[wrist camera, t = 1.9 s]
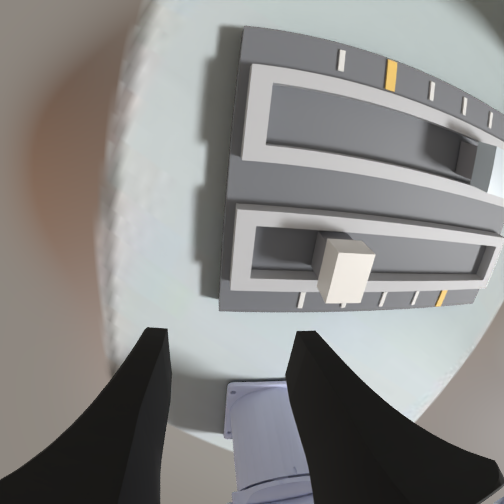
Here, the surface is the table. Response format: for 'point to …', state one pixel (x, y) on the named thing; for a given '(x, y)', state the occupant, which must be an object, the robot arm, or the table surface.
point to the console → (352, 178)
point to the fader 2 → (482, 167)
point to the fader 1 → (341, 267)
